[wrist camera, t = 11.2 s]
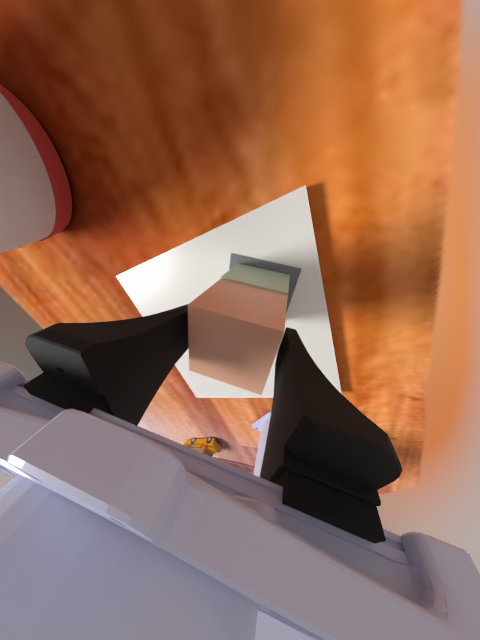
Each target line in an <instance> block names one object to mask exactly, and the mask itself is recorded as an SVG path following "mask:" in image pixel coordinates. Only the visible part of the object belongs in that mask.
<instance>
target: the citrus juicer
mask: <svg viewBox="0 0 480 640" xmlns="http://www.w3.org/2000/svg"><path fill="white" fill-rule="evenodd" d="M71 214H72V196H71V191H70V186H69V182H68V179H67V176H66V173H65V170H64V167H63V165H62V163H61V160H60V158H59V156H58V153H57V151H56V150H55V148H54V146H53V144H52V142H51V140H50V139H49V137H48V135H47V134H46V132H45V131H44V129H43V128H42V126H41V125H40V123H39V122H38V120H37V119H36V118H35V117H34V116H33V114H32V113H31V112H30V111H29V110H28V108H27V107H26V106H25V105H24V104H23V103H22V102H21V101H20V100H18V99H17V98H16V97H15V96H14V95H13V94H12V93H11V92H9V91H8V90H7V89H6V88H5V87H3V86H2V85H1V84H0V253H2V252H6V251H10V250H13V249H17V248H21V247H24V246H26V245H29V244H31V243H34V242H37V241H43V240H45V239H47V238H49V237H51V236H53V235H55V234H57V233H58V232H60V231H61V230H63V229H64V228H65V227H66V226H67V225H68V224H69V221H70V219H71Z"/></svg>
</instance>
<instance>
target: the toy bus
mask: <svg viewBox="0 0 480 640" xmlns="http://www.w3.org/2000/svg"><path fill="white" fill-rule="evenodd" d="M184 446H186V447H189V448H191V449H193V450H196V451H198V452H201V453H203V454H205V455H208V456H210V457H212V456H213V454H214V453H218V452H220V451H221V448H222V444H221V443H220V442H218V441H217V440H216V439H215V438H212V437H208V438H202V439H197V438H193V439H191V440H188V441H186V442H185V443H184Z"/></svg>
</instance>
